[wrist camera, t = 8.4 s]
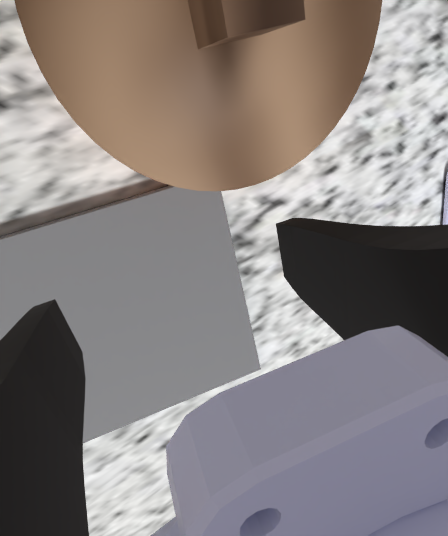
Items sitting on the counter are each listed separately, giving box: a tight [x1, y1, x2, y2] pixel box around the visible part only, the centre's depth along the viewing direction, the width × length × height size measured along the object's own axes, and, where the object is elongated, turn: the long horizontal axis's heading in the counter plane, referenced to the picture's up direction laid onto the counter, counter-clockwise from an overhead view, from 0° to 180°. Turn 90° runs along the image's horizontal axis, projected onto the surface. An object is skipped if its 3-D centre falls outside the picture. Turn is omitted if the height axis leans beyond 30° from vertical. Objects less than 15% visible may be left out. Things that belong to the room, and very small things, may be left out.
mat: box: [0, 185, 261, 443], centre depth 23 cm, size 15×15×1 cm
